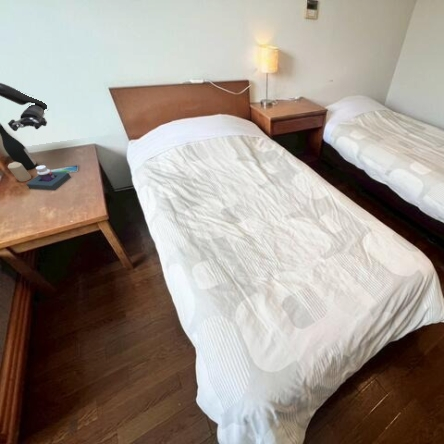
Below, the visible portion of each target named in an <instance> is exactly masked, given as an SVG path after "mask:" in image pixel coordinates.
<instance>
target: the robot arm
mask: <svg viewBox="0 0 444 444" xmlns="http://www.w3.org/2000/svg"><path fill="white" fill-rule="evenodd" d="M18 90H19V89H17V90H16V88H15V87H12V86H10V85H7V84H5V83H2V82H0V97H1V98H4V99H6V100H8V101H9V102H10V101H11V102H13V103H15V104H17V105H20V106H24V105H25V106H26V105H27V104H30V103H35V105H31V106H29V105H28V106H29V107H28V106H27V107H28V108H27V107H26V109H24V110H23V112H22V113H21V115H20V118H19V119H18V120H16V119H11V120H10V121H9V122H7V125H8V126H9V128H10V129H11V130H12V131H14V132H17V131H18V130H19V129H20V128H21V129H23V128H26V127H33V128H34V129H35V130H39V129H40V128H41V127H46V126H47V124H48V121H47V119H46V117H44V116H45V114H46V113H44V110H45V109H47V105H46V104H45V103H43V102H42V101H39V100H37V99H34V98H32V97H29V96H27V95H25V94H26V93H25V94H23V93H24V92H23V93H21V92H22V91H21V90H19V91H18ZM20 91H21V92H20Z"/></svg>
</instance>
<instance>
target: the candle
mask: <svg viewBox="0 0 444 444" xmlns="http://www.w3.org/2000/svg"><path fill="white" fill-rule="evenodd" d="M7 168H8V169H9V171H10V172H11V174H13V176H14V177H15V178H16V180H17V181H18V182H19V183H20V182H21V183H22V182H27V181H28V182H29V181H31V180H32V175H31V174H30V173H29V172H28V170H26V169H25V168H24V167H23V165H22V164H21V163H18V162H14V161H13V162H11V163H9V164H8V165H7Z"/></svg>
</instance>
